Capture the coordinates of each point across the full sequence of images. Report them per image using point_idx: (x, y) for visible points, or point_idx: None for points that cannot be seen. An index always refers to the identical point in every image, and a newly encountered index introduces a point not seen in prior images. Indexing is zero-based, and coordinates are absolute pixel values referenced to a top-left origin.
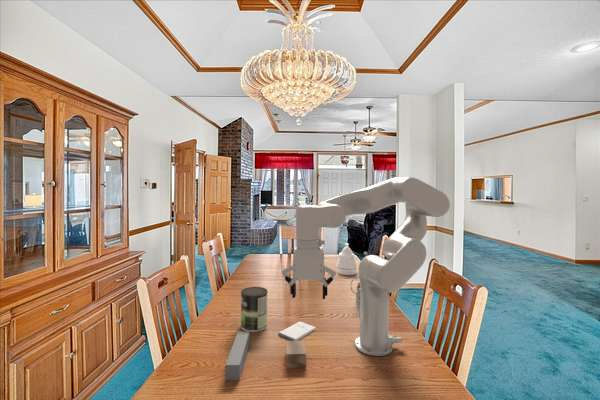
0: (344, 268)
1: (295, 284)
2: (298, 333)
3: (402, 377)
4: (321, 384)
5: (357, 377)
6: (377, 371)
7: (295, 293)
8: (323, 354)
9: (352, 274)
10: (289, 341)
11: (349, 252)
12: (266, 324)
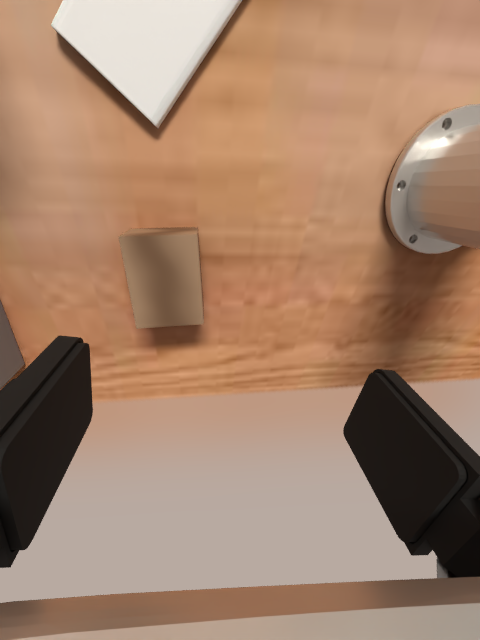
0: None
1: (11, 476)
2: (166, 53)
3: (425, 337)
4: (238, 366)
5: (327, 340)
6: (384, 317)
7: (80, 382)
8: (263, 235)
9: None
10: (134, 240)
11: None
12: None
